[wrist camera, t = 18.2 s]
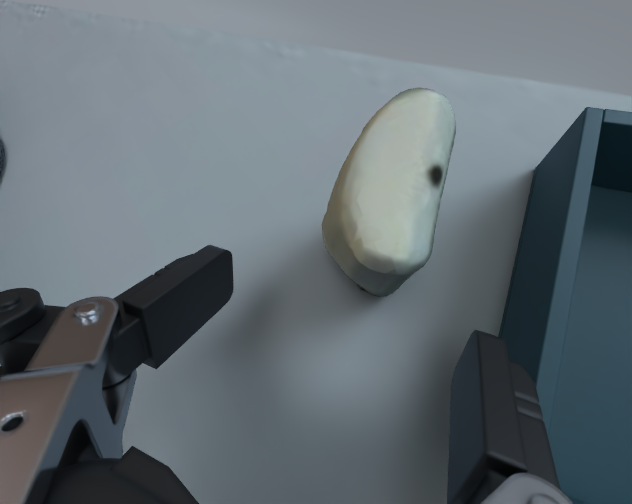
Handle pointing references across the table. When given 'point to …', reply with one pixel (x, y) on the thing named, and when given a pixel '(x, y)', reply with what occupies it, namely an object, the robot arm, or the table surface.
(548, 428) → the box
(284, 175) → the table surface
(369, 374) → the table surface
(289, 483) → the table surface
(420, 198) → the cream rounded oblong block
